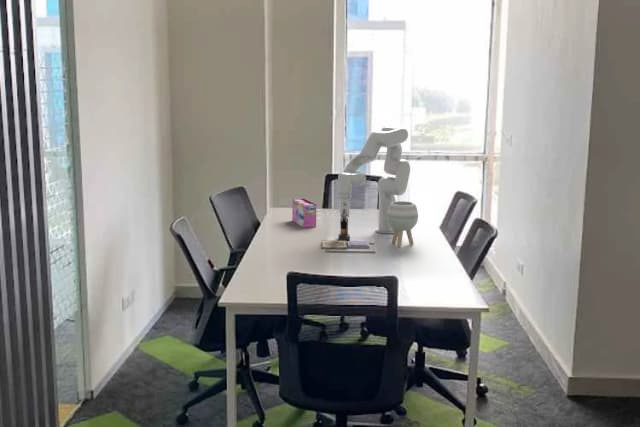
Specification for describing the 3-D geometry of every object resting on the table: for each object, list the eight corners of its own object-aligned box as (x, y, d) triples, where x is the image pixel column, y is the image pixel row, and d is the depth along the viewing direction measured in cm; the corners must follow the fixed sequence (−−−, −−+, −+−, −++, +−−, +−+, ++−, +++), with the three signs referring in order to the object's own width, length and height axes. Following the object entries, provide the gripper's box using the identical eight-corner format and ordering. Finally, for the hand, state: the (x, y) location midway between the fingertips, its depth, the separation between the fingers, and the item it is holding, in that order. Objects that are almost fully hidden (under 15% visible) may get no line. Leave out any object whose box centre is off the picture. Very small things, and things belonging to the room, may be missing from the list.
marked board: (346, 242, 374) (346, 240, 374) (347, 249, 359) (347, 247, 359) (321, 241, 374) (322, 240, 374) (321, 248, 359) (321, 247, 359)
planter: (397, 249, 359) (398, 206, 355) (380, 243, 373) (381, 201, 369) (423, 246, 366) (424, 204, 362) (405, 240, 380) (406, 199, 376)
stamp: (349, 238, 384) (349, 215, 382) (349, 240, 378) (350, 217, 376) (338, 238, 384) (338, 215, 382) (338, 240, 378) (339, 217, 376)
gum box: (291, 220, 432) (291, 198, 429) (303, 219, 434) (303, 198, 432) (304, 228, 410) (304, 205, 407) (316, 227, 412) (316, 204, 410)
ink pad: (368, 243, 372) (368, 240, 372) (369, 248, 361) (369, 245, 361) (347, 243, 372) (347, 240, 372) (348, 248, 361) (348, 245, 361)
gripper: (352, 198, 368) (351, 230, 371) (350, 193, 385) (349, 224, 388) (337, 197, 368) (336, 229, 371) (337, 193, 385) (336, 223, 388)
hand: (343, 226), depth 380 cm, fingers open, 9 cm apart
